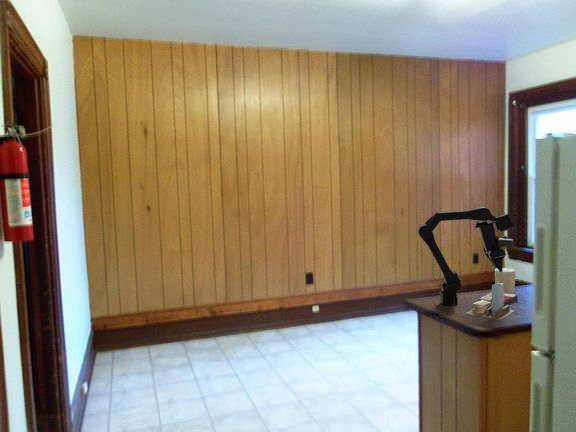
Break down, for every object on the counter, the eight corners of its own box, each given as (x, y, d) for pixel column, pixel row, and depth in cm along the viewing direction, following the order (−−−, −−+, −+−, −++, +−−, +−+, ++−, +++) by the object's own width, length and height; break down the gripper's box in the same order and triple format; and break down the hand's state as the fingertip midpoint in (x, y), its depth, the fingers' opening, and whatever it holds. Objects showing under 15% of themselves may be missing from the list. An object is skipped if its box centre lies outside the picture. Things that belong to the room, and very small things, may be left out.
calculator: (477, 297, 205) (493, 289, 214) (477, 307, 206) (494, 298, 215) (501, 302, 196) (517, 293, 206) (502, 312, 197) (518, 303, 206)
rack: (465, 315, 191) (465, 307, 190) (481, 307, 202) (481, 299, 201) (499, 322, 181) (499, 314, 180) (515, 313, 192) (515, 304, 191)
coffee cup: (507, 291, 226) (508, 267, 225) (520, 295, 217) (520, 271, 216) (490, 292, 225) (490, 268, 224) (501, 297, 215) (502, 272, 214)
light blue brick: (491, 314, 188) (491, 285, 187) (497, 310, 192) (497, 282, 191) (497, 315, 186) (497, 286, 185) (503, 312, 190) (503, 283, 189)
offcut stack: (471, 311, 192) (471, 303, 192) (480, 306, 198) (480, 299, 198) (484, 314, 188) (484, 306, 188) (493, 309, 195) (493, 301, 194)
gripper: (513, 232, 187) (524, 269, 187) (503, 228, 205) (513, 261, 205) (485, 239, 190) (495, 275, 190) (478, 234, 208) (487, 267, 208)
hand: (499, 269), depth 198 cm, fingers open, 9 cm apart
